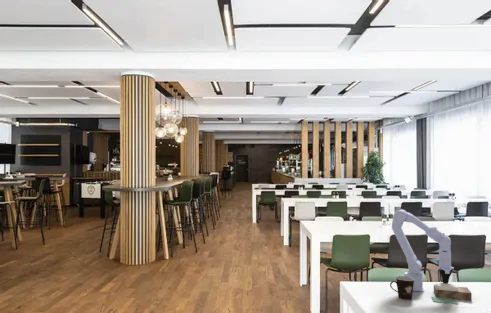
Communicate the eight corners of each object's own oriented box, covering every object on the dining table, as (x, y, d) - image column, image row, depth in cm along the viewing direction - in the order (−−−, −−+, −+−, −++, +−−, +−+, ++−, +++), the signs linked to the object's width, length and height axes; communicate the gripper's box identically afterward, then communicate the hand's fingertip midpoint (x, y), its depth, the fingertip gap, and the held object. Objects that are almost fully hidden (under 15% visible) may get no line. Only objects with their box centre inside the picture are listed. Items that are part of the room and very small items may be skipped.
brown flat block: (436, 297, 200) (436, 289, 200) (433, 291, 210) (433, 284, 210) (471, 301, 195) (471, 292, 195) (467, 295, 205) (467, 287, 205)
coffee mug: (413, 296, 202) (413, 277, 202) (415, 301, 194) (414, 281, 194) (389, 294, 206) (389, 275, 206) (390, 299, 197) (390, 279, 198)
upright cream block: (438, 289, 201) (438, 285, 201) (436, 286, 206) (436, 282, 206) (457, 291, 198) (457, 287, 198) (455, 288, 203) (455, 284, 204)
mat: (433, 301, 194) (433, 301, 194) (431, 297, 201) (431, 296, 201) (458, 304, 190) (458, 303, 190) (455, 299, 197) (455, 298, 197)
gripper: (456, 262, 200) (456, 288, 199) (450, 256, 213) (451, 281, 213) (440, 261, 202) (441, 287, 201) (436, 255, 216) (436, 280, 215)
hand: (445, 284), depth 207 cm, fingers closed
